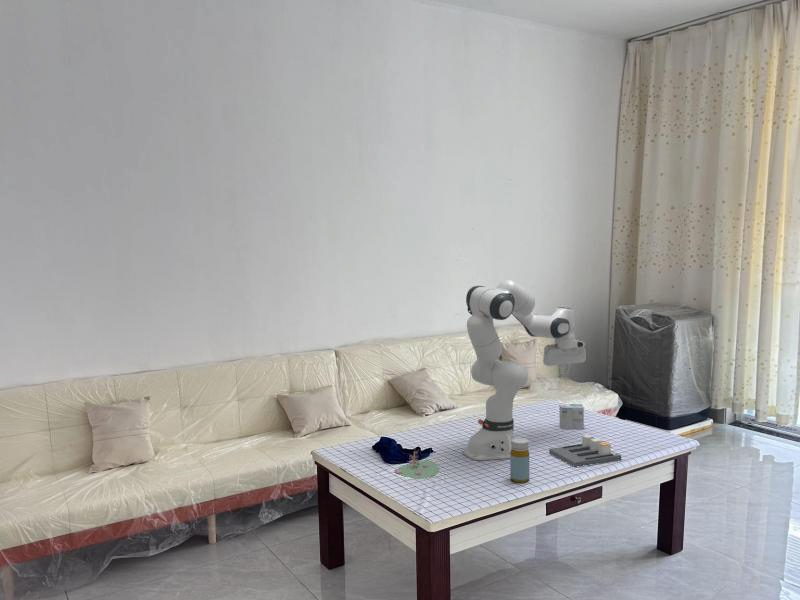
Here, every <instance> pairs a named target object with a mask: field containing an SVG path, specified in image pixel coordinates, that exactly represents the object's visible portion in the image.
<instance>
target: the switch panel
mask: <svg viewBox="0 0 800 600" xmlns="http://www.w3.org/2000/svg"><path fill="white" fill-rule="evenodd" d="M599 443H603V440H602V439H600V438H598V437H597V438H594V436H593V435H591V434H586V435H585V434H584V435H581V443H580V444H572V445H571V444H570V445H565V446H558V447H551V448H549V449H548V450H549V451H548V454H549V453H550V455H551V456H553V457H555V458H557V459H558V458H559V459H558V460H560V459H561V460H560V461H562V460H563V461H562V462H564V461H565V462H567V463H568V464H567V463H566V464H567V465H569V464H570V465H569V466H571V465H572V466H571V467H573V466H574V467H575V468H578V467H577V466H582V467H584V466H583V465H588V466H591V465H590V464H594V465H597V464H596V463H601V464H605V463H604V462H607V463H612V462H611V461H613V462H619V461H622V455H621V454H619V453H617V452H615V451H613V450H611V454H608V455H600V454H598V446H599ZM618 460H619V461H618ZM565 462H564V463H565ZM574 467H573V468H574Z"/></svg>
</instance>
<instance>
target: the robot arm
mask: <svg viewBox="0 0 800 600" xmlns="http://www.w3.org/2000/svg"><path fill="white" fill-rule="evenodd" d="M465 296H466V297H465V303H466V306H467V312H468V314H470V317H468V319H467V321H466V329H467V334H468V337H469V340H470V342H471V345H472V347H473V349H474V350H473V351H474V352H475V355H476V360H475V361H474V362H473V364H472V365H471V369H470V373H471V378H472V379H473V380H474V381H475V382H477V383H480V384H482V385H485V386H491V387H495V388H496V391H495V393H494V394H493V395H491V396H489V397H488V398H487V399H486V402H485V419H484V420H483V419H481V418H479V419H478V420H477V423H478V424H479V425H482V426H481V427H480V429H479V430H478V431H476V432H475V433H474V434H473V435H471V437H470V438H469V441H468V444H467V447H464V448H463V450H462V453H463V454H464V455H465V456H466V457H468V458H469V459H471V460H474V461H489V460H502V459H503V460H505V459H510V452H511V449H512V448H511V447H512V446H511V440H512V439H514V428H515V427H514V426H515V425H514V418H513V409H514V401H515V397H516V396H517V393H518V391H520V390H521V389H523V388H524V387H525V386H526V384H527V382H528V380H529V374H528V370H527V368H526V367H525V366H524V365H521V364H519V363H517V362H512V361H505V360H500V359H499V358H500V356H501V355H502V353H503V344H502V343H501V342H502V341H501V339H500V336H499V334H498V331H497V329H496V327H495V325H494V320H496V321H505V320H507V319H508V318H510V316H511V315H512V316H513V317H514V318H515V319H516V320H517V321H518V322H519V323H520V324H521V325H522V326H523V327H524V329H525V331H526V332H527V335H529V336H530V337H534V338H536V337H537V338H538V337H539V338H547V339H554V341H553V344H547V345H545V347H544V350H543V360H542V361H543V365H545V366H546V367H551V366H558V368H559V370H560V374H561V375H569V370H570V369H571V365H572V364H581V363H585V362H586V360H587V352H586V348H585V347H586V343H585V342H584V341H581V340H578V339H576V335H575V329H576V320H575V311H574V309H572V308H570V307H564V306H563V307H561V306H558V307H556V308H555V311H554V313H552V314H551V315H543V314H541V315H540V314H538V313H532V312H533V310H534V309H535V307H536V299H535V296H534V294H532V292H530V291H529V290H528V289H527V288H525V287H524V286H522V285H521V284H520V283H518V282H515V281H514V280H511V279H504V280H502V281H500V283H498V285H497V286H496V289H494V288H491V287H486V286H484V285H474V286H472V287H470V288H469V289H468V291H467V293H466V295H465ZM564 365H565V368H564Z"/></svg>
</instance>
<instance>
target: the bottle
mask: <svg viewBox="0 0 800 600" xmlns="http://www.w3.org/2000/svg"><path fill="white" fill-rule="evenodd" d="M511 446H512V447H511V448H512V449H511V452H510V458H509V459H510V460H509V461H510V463H509V464H510V467H509V468H510V469H509V472H510V473H509V475H510V480H511V481H512V480H513V482H514V481H515V483H518V482H524V483H526V481H527V482H528V481H529V480H530V450H529V440H528V439H527V438H523V437H517V438H514V439H512V440H511Z"/></svg>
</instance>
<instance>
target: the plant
mask: <svg viewBox="0 0 800 600" xmlns="http://www.w3.org/2000/svg"><path fill="white" fill-rule="evenodd" d="M419 451H420V450H416V447H414V451H413V454H410V455H409V458H408V459H409V461H408V462H409V464H406V465H403V466H402V467H399V468H398V469H395V470H394V471H395V472H394V473H396V474H399V475H401V476H404V477H410V478H415V479H414V480H425V479H428V478H433V477H435V476H436V475H438V473H439V471H440V468H439V466H438V464H437V463H436V462H434V461H433V460H419V459H417V458H419V457H420V456H419V454H418V453H419Z"/></svg>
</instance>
